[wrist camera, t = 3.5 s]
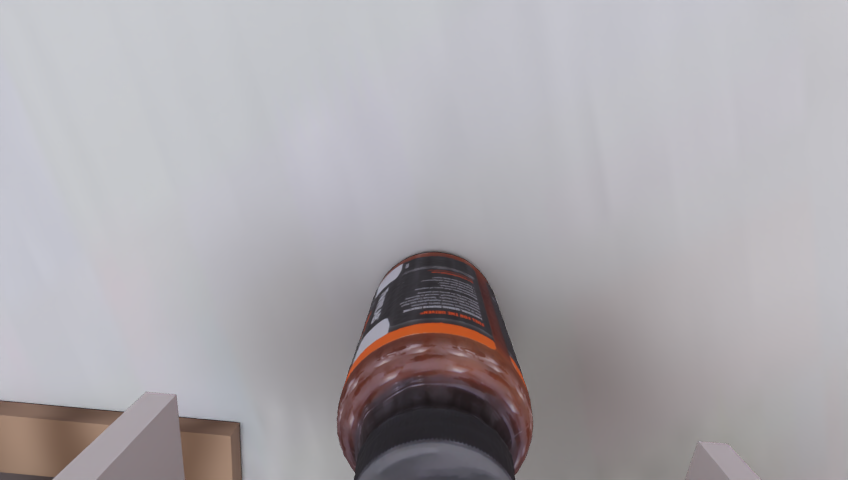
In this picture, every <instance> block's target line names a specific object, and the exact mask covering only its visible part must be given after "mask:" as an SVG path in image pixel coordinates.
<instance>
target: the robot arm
mask: <svg viewBox="0 0 848 480" xmlns="http://www.w3.org/2000/svg"><path fill="white" fill-rule="evenodd" d="M52 480H185V477H184V466H183V456H182V446H181V436H180V426H179V416H178V405H177V395H176V394H165V393H154V392H145V393H144V394H143V395H142V396H141V397H140V398H139V399H138V400H137V401H136V402H134V403H133V404H132V405H131V406H130V407H129V408H128V409H127V410H126V411H125V412H124V413H123V414H122V415H121V416H120V417H118V418H117V419H116V420H115V421H114V422H113V423H112V424H111V425H110V426H109V427H108V428H107V429H106V430H105V431H104V432H102V433H101V434H100V435H99V436H98V437H97V438H96V439H95V440H94V441H93V442H92V443H91V444H90V445H89V446H88V447H87V448H85V449H84V450H83V451H82V452H81V453H80V454H79V455H78V456H77V457H76V458H75V459H74V460H73V461H72V462H71V463H69V464H68V465H67V466H66V467H65V468H64V469H63V470H62V471H61V472H60V473H59V474H58V475H57V476H56V477H55V478H53V479H52ZM685 480H761V479H760V478H759V477H758V476H757V474H756V473H755V472H754V471H753V470H752V469H751V468H750V467H749V466H748V465H747V463H746V462H745V461H744V460H743V459H742V458H741V457H740V456H739V455H738V454H737V453H736V451H735V450H734V449H733V448H732V447H731V446H730V445H729V444H725V443H714V442H703V441H698V443H697V446H696V449H695V452H694V455H693V458H692V461H691V464H690V467H689V470H688V473H687V475H686V478H685Z"/></svg>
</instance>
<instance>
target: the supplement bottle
mask: <svg viewBox="0 0 848 480" xmlns="http://www.w3.org/2000/svg"><path fill="white" fill-rule="evenodd" d="M337 413H338V416H337V434H338V437H339V442H340V446H341V448H342V450H343V454H344V456H345V458H346V459H347V461H348V463H349V464H350V466H351V468H352V469H353V470H354V472H355V477H354V480H515V477H514V475H515V474H516V473H517V472H518V470H519V468H520V467H521V465H522V463H523V461H524V460H525V458H526V456H527V453H528V449H529V446H530V443H531V438H532V431H533V417H532V410H531V403H530V398H529V394H528V391H527V388H526V385H525V382H524V379H523V376H522V373H521V369H520V366H519V364H518V361H517V358H516V356H515V353H514V350H513V347H512V344H511V341H510V338H509V336H508V333H507V330H506V327H505V324H504V321H503V318H502V315H501V313H500V310H499V307H498V304H497V302H496V298H495V296H494V293H493V291H492V289H491V287H490V286H489V284H488V282H487V280H486V279H485V277H484V276H483V275H482V274H481V272H480V271H479V270H478V269H477V268H475V267H474V266H473V265H472V264H471V263H469V262H468V261H466V260H464V259H462V258H460V257H457V256H454V255H451V254H446V253H439V252H430V253H422V254H417V255H414V256H411V257H409V258H407V259H405V260H403V261H402V262H400V263H398V264H397V265H396V266H394V267H393V268H392V269H391V270H390V271H389V272H388V273H387V274H386V276H385V277H384V278H383V280H382V282H381V283H380V285H379V287H378V289H377V290H376V294H375V296H374V298H373V301H372V304H371V307H370V310H369V314H368V317H367V320H366V322H365V326H364V329H363V331H362V335H361V337H360V340H359V343H358V346H357V348H356V352H355V354H354V358H353V360H352V364H351V365H350V368H349V372H348V375H347V379H346V382H345V384H344V387H343V390H342V394H341V397H340V401H339V406H338V412H337Z"/></svg>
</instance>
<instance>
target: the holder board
mask: <svg viewBox="0 0 848 480" xmlns="http://www.w3.org/2000/svg"><path fill="white" fill-rule="evenodd" d="M123 413H124V412H115V411H104V410H93V409H82V408H71V407H60V406H49V405H38V404H27V403H16V402H6V401H0V480H52V479H53V478H55V477H56V476H57V475H58V474H59V473H60V472H61V471H62V470H63V469H64V468H65V467H66V466H67V465H68V464H69V463H71V462H72V461H73V460H74V459H75V458H76V457H77V456H78V455H79V454H80V453H81V452H82V451H83V450H84V449H85V448H87V447H88V446H89V445H90V444H91V443H92V442H93V441H94V440H95V439H96V438H97V437H98V436H99V435H100V434H101V433H102V432H104V431H105V430H106V429H107V428H108V427H109V426H110V425H111V424H112V423H113V422H114V421H115V420H116V419H117V418H118V417H120V416H121V415H122V414H123ZM179 426H180V436H181V446H182V456H183V466H184V477H185V480H242V477H241V452H240V427H239V423H235V422H224V421H213V420H202V419H192V418H181V417H179Z"/></svg>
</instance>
